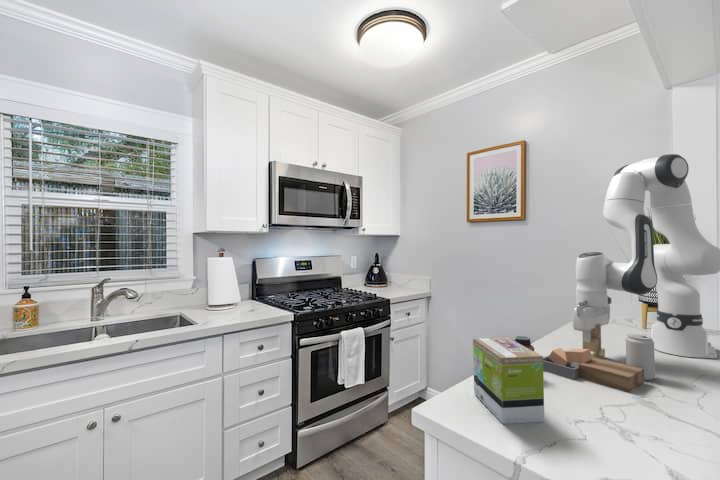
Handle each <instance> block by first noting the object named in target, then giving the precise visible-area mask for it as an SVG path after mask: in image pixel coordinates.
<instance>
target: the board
mask: <svg viewBox="0 0 720 480" xmlns="http://www.w3.org/2000/svg"><path fill="white" fill-rule="evenodd" d="M578 366H579V378H578V379H580V380H582V381H583V380H584V381H587V382H592V383H595V384H597V385H600V386H605V387H607V388H611V389H615V390H619V391H622V392H625V393H628V394H630V393H632V392H633V391H634V390H636V389H638V388H639V387H640V386H642V385H643V384H644V383H645V380H644V369H643V368H639V367H634V366H630V365H626V364H625V363H621V362H617V361H613V360H608V359H604V358H602V359H601V358H596V357H594V358H592V360H590V361H588V362H586V363H580V364H578Z"/></svg>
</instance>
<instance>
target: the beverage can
mask: <svg viewBox="0 0 720 480" xmlns="http://www.w3.org/2000/svg"><path fill="white" fill-rule="evenodd" d="M625 359H626V360H625V363H626V365H630V366H634V367H639V368H643V369H644V381H647V382H648V381H652V380H654V379H655V378H656V368H655V364H656V363H655V349H654V342H653V340H652V337H651V336H649V335H646V334H640V333H639V334H638V333H627V336H626V338H625Z"/></svg>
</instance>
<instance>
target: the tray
mask: <svg viewBox="0 0 720 480" xmlns="http://www.w3.org/2000/svg"><path fill="white" fill-rule="evenodd" d="M549 355H550V354H548V355H546V356H543V372H546V373H549V374H553V375H556V376H559V377H563V378H566V379H569V380H573V381H576V380H578V379H580V378H579V366H578V364H580V363H581V362H573V363H572V364H571V366H569V367H566V366H562V365H559V364H555V363H554V362H553V361H551V360H550V359H549V358H548V357H549ZM592 358H593V357H592Z"/></svg>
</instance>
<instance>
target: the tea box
mask: <svg viewBox="0 0 720 480" xmlns="http://www.w3.org/2000/svg"><path fill="white" fill-rule="evenodd" d="M472 343H473V344H472V347H473V348H472V350H473V351H472V354H473V391H474V392H473V393H474V395H475V396H476V397H478V399H479V400H480V401H481V402H482V403H483V405H485V407H486V408H488V410H489V411H490V412H491V413H492V414H493V415H494V417H495V418H496V419H497V420H498V421H499V422H500V423H501V424H502V425H509V424H511V423H514V424H529V423H530V424H531V423H541V422H542V423H543V422H545V392H544V387H545V386H544V385H545V384H544V382H545V381H544V380H545V379H544V371H543V357H544V356H543V355H542V354H539V353H538V352H536V351H535V350H534V351H532V350H530V349H528V348H527V347H525V346H523V345H521V344H519V343H517V342H516V341H515V340H514V339H512V338H510V337H509V336H508V337H491V338H473V341H472Z"/></svg>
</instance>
